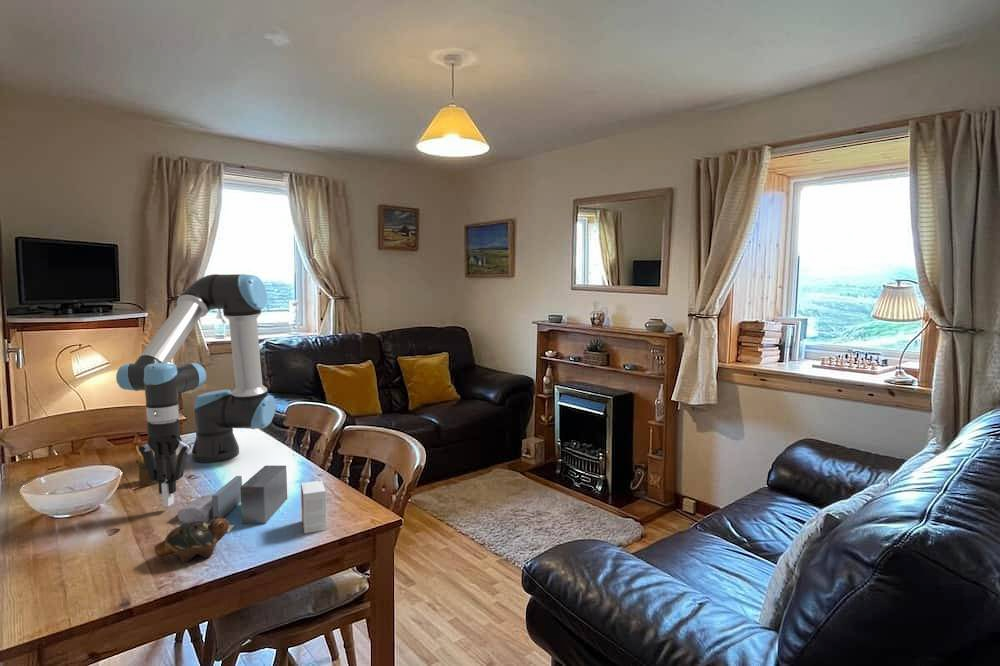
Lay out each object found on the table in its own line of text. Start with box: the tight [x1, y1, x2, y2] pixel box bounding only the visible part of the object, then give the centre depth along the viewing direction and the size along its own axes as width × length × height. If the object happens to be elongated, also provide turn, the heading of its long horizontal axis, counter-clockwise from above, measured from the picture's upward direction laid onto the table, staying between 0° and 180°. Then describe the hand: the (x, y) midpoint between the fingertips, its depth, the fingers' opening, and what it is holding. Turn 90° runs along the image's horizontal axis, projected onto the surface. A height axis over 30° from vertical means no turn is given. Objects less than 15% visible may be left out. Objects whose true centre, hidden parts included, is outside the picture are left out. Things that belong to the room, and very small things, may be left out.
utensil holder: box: [135, 445, 158, 486], centre depth 170 cm, size 6×6×12 cm
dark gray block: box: [240, 465, 288, 525], centre depth 150 cm, size 16×6×10 cm, turn 1°
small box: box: [300, 480, 328, 535], centre depth 142 cm, size 8×6×10 cm
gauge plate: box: [208, 475, 243, 524], centre depth 148 cm, size 19×2×7 cm, turn 1°
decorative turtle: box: [154, 517, 230, 563], centre depth 126 cm, size 10×15×8 cm, turn 123°
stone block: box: [177, 493, 214, 523], centre depth 149 cm, size 12×5×10 cm
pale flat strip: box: [226, 524, 235, 533], centre depth 140 cm, size 3×10×1 cm, turn 91°
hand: (168, 504), depth 150 cm, fingers closed
